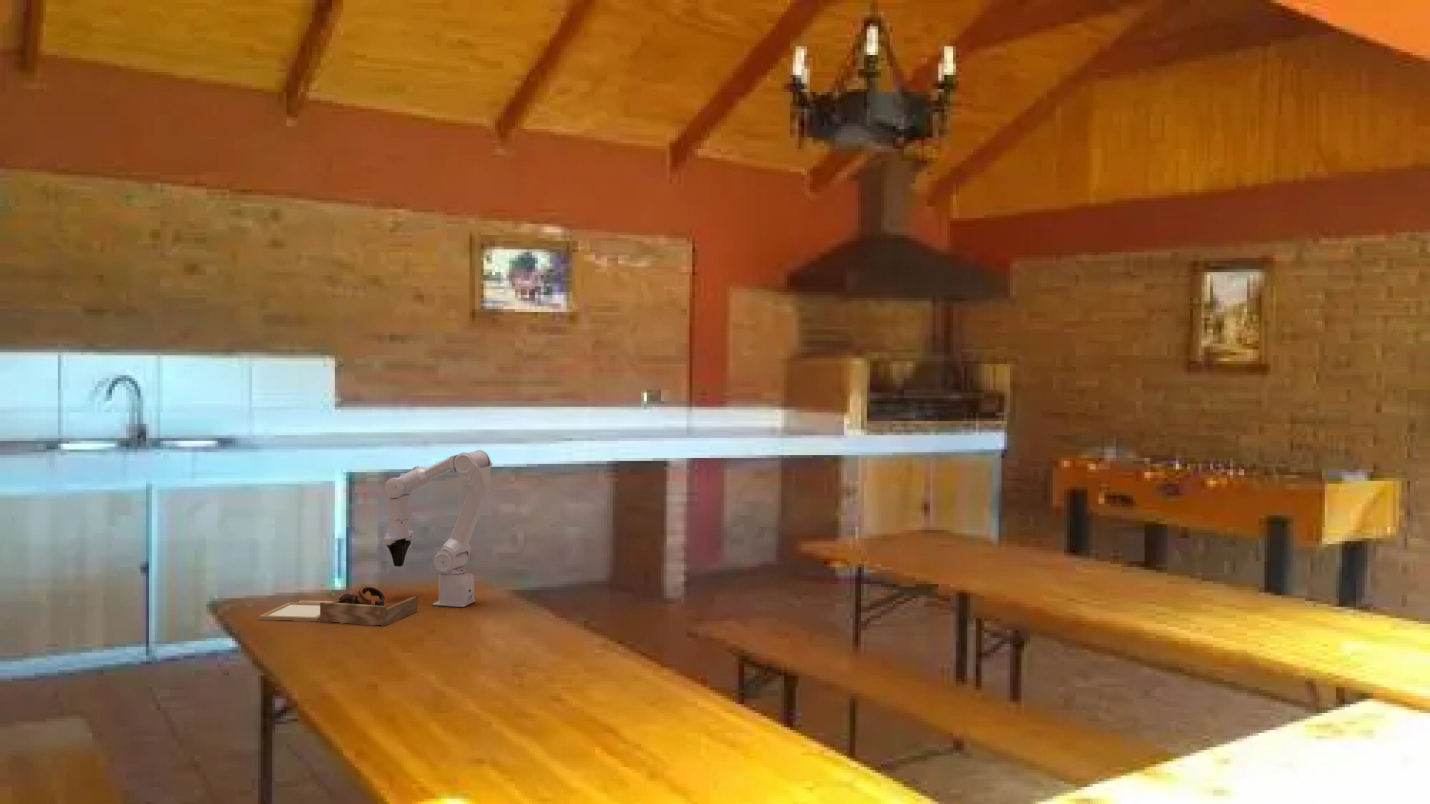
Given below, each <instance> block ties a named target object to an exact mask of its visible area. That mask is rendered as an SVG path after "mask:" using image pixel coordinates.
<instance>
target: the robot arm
mask: <svg viewBox="0 0 1430 804" xmlns="http://www.w3.org/2000/svg"><path fill="white" fill-rule="evenodd" d="M492 467H493V462H492V460H491V459H490V456H489V455H488V453H487V452H485V451H484V450H482V449H480V450H475V451H468V452H460V453H459V454H455V455H454V454H453V455H451V456H449V457H447V458H445V459H443V460H441V461H438V462H437V463H435V464H433V465H431V466H429V467H425V466H420V465H419V466H418V465H416V466H413V467H412V470H410V471H408V472H406V473H405V472H403V473H402V472H401V473H400V474H399V477H391V478H389V479H388V480H386V482H385V484H384V486H383V487H384V488H383V489H384V493H385V495H386V497H388V499H387V500H388V502H387V503H388V510H387V511H388V530H387V531H388V532H387V533H384V537H383V538H382V541H383V542H382V545H383V546H386V548H388V551H389V553H390V555H391V558H392V563H393V565H394V567H400V568H401V567H403V566H404V563H405V558H406V556H407V552H408V549H409V547H410V546H411V543H412V540H408V539H412V538H414V530H410V501H411V495H412V494H413V493H414V492H416V491H418V490H421V489H423V488H425V487H428V486H429V485H431V483H432V480H433V479H434V478H437V477H439V476H441V475H444V474H447V473H449V472H454V473H455V472H456V473H458V475H459V476H460V477H461V478H462V480H463V481H464V482H465V483H466V484H467V486H468V488H469V489H468V491H467V495H466V497H465V499H464V502H463V504H462V506H461V509H460V512H459V514H458V517H457V520H456V522H455V524H454V527H453V529H452V532H451V534H450V537H449V538H448V539H447V540H446V541H445V543H443V545H442V546H441V548H440V550H439V551H438V552H437V553H436V554H435V556H434V558H433V565H434V568H435V570H437V574H438V601H435V602H433V603H432V605H433V606H441V607H443V606H444V607H455V608H456V607H458V608H459V607H460V608H463V607H467V606H468V605H471V604H473V603H475V602H476V599H475V577H474V574H472V573H468V572H466V567H467V566H468V564H469V562H470V559H471V558H470V556H471V554H470V552H471V550H472V547H471V545H470V540H471V538H472V535H473V533H474V531H475V528H476V525H477V523H478V520H479V519H480V516H481V513H482V510H483V508H484V505H485V504H486V501H487V498H488V495H489V493H490V491H491V488H492V482H491V481H492V480H491V479H492V477H491V476H492V475H491V469H492Z"/></svg>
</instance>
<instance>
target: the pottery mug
mask: <svg viewBox="0 0 1430 804" xmlns="http://www.w3.org/2000/svg"><path fill="white" fill-rule="evenodd" d="M368 592H369V593H370V596H372V597H373V596H374V597H378V598H379V600H375V601H374V603H372V602H373V601H372V599H371V598H369V597H368V596H367V595H365V594H367V593H368ZM338 600H339V603H345V600H348V601H349V603H348V604H362V605H377V606H385V600H386V596H385V594H384V593H383V592H382V591H381V590H380V589H377V588H375V587H372V586H361V587H360V588H359V589H358V590H357V591H355V592H354V593H353V595H352V594H351V593H350V594H349V593H344V594H343V595H341V596H340V597H339V599H338ZM359 601H360V602H359Z"/></svg>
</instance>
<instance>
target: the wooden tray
mask: <svg viewBox="0 0 1430 804" xmlns="http://www.w3.org/2000/svg"><path fill="white" fill-rule="evenodd" d="M353 594H354V593H353ZM353 594H351V595H353ZM333 601H334V602H321V603H320V623H330V622H340V623H339V624H344V623H351V624H350V625H358V624H359V625H361V626H373V625H381V626H380V627H386V626H388V625H390V624H392V623H395V622H397V621H399V620H401V619H403V618H405V617H408V616H410V615H413V614H415V613H417V612H416V611H418V597H417V596H411V597H409V598H406V599H404V600H401V601H398V602H397V603H395V604H392V605H390V606H387V605H384V606H377V605H375V604H374V605H365V604H364V605H362V604H348V603H349V601H348V600H345V603H339V599H337V600H333ZM359 602H360V601H359ZM396 620H397V621H396ZM391 622H392V623H391ZM359 625H358V626H359ZM385 625H386V626H385Z"/></svg>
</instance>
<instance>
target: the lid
mask: <svg viewBox="0 0 1430 804" xmlns="http://www.w3.org/2000/svg"><path fill="white" fill-rule="evenodd" d="M334 601H335V600H333V601H332V600H331V601H330V600H329V601H328V600H299V601H296V602H295V601H290V602H286V603H284V604H282V605H279V606H277V607H275V608H273V609H271V610H269V611H267V612H265V613H262V614H261V615H258V621H275V620H293V621H292V622H310V621H313V622H314V621H318V622H319V620H320V603H321V602H334ZM313 622H312V623H313ZM310 623H311V622H310ZM314 623H315V622H314Z"/></svg>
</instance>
